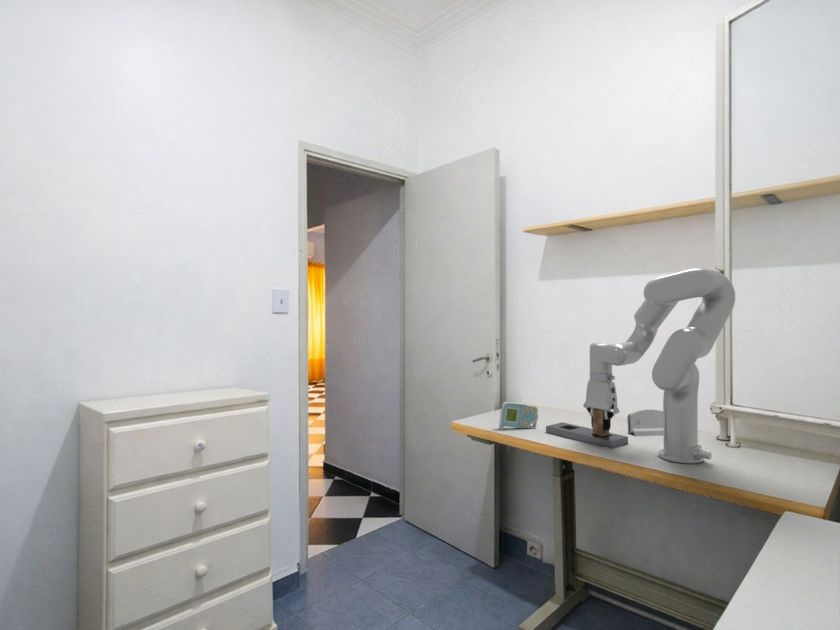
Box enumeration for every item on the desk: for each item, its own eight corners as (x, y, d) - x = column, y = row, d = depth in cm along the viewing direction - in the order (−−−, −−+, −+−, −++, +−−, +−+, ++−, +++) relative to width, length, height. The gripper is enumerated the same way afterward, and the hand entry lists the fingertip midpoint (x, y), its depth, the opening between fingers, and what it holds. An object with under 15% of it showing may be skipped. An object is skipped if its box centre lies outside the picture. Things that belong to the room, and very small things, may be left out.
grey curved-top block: (634, 436, 176) (629, 409, 179) (628, 437, 180) (623, 411, 183) (677, 434, 176) (671, 408, 180) (670, 436, 181) (664, 409, 184)
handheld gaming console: (536, 433, 189) (500, 430, 187) (533, 431, 192) (498, 428, 190) (539, 406, 189) (504, 402, 188) (537, 404, 192) (501, 401, 190)
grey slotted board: (628, 443, 166) (627, 436, 166) (611, 448, 160) (611, 441, 160) (562, 428, 188) (562, 422, 188) (546, 432, 183) (545, 426, 183)
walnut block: (609, 434, 168) (609, 409, 168) (602, 436, 166) (602, 410, 166) (599, 432, 171) (599, 407, 171) (592, 433, 169) (592, 408, 169)
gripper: (628, 379, 164) (628, 431, 164) (587, 374, 177) (587, 422, 178) (616, 381, 159) (616, 435, 160) (574, 375, 173) (574, 425, 173)
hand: (600, 427), depth 169 cm, fingers closed on walnut block, 4 cm apart
